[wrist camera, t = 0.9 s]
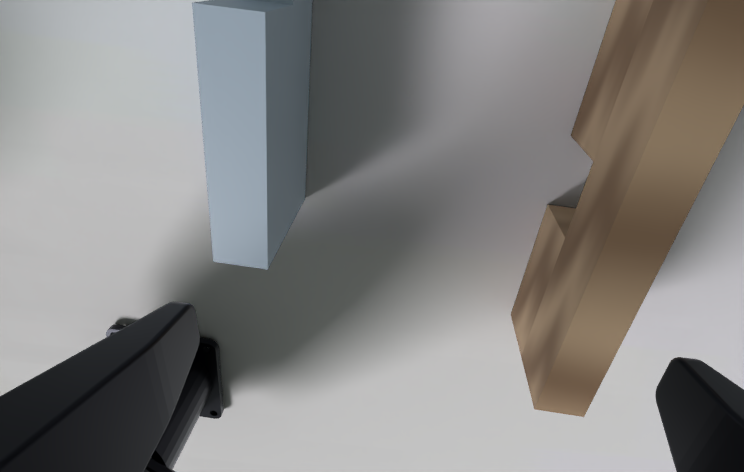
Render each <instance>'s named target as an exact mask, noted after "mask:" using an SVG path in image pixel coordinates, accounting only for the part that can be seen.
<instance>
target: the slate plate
mask: <svg viewBox="0 0 744 472" xmlns="http://www.w3.org/2000/svg"><path fill="white" fill-rule="evenodd" d="M192 7H193V19H194V31H195V43H196V56H197V68H198V80H199V93H200V105H201V117H202V129H203V142H204V154H205V166H206V178H207V191H208V203H209V215H210V227H211V240H212V252H213V262H219V263H226V264H233V265H240V266H246V267H253V268H260V269H267V270H268V268H269V266H270V264H271V262H272V261H273V259H274V257H275V255H276V253H277V251H278V249H279V247H280V245H281V243H282V242H283V240H284V238H285V236H286V234H287V232H288V230H289V228H290V226H291V224H292V223H293V221H294V219H295V217H296V215H297V213H298V211H299V209H300V207H301V205H302V204H303V202H304V200H305V189H306V162H307V135H308V108H309V81H310V53H311V26H312V0H209V1H202V2H195V3H192Z"/></svg>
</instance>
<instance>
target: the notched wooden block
mask: <svg viewBox="0 0 744 472" xmlns="http://www.w3.org/2000/svg"><path fill="white" fill-rule="evenodd" d="M743 105H744V0H616V2H615V5H614V8H613V11H612V14H611V17H610V20H609V22H608V25H607V28H606V31H605V34H604V37H603V40H602V43H601V46H600V49H599V52H598V55H597V58H596V61H595V64H594V67H593V70H592V73H591V76H590V79H589V82H588V85H587V88H586V91H585V94H584V97H583V100H582V103H581V106H580V109H579V112H578V115H577V118H576V121H575V124H574V127H573V130H572V133H571V136H572V138H573V139H574V140H575V141H576V142H577V143H578V144H579V146H580V147H581V148H582V149H583V150H584V151H585V152H586V153H587V155H588V156H589V157H590V158H591V159H592V160H593V164H592V167H591V169H590V172H589V175H588V178H587V180H586V183H585V186H584V188H583V191H582V194H581V196H580V199H579V202H578V204H577V207H576V208H569V207H562V206H555V205H547V208H546V211H545V214H544V217H543V220H542V223H541V226H540V229H539V232H538V235H537V238H536V241H535V244H534V247H533V250H532V253H531V256H530V259H529V262H528V265H527V268H526V271H525V274H524V277H523V280H522V283H521V285H520V288H519V291H518V294H517V297H516V300H515V303H514V306H513V309H512V312H511V317H512V321H513V325H514V329H515V333H516V337H517V341H518V345H519V349H520V353H521V357H522V361H523V365H524V369H525V373H526V377H527V381H528V385H529V389H530V393H531V397H532V401H533V405H534V409H536V410H543V411H549V412H556V413H562V414H569V415H575V416H582V417H584V416H585V414H586V412H587V410H588V408H589V406H590V404H591V402H592V400H593V398H594V396H595V394H596V392H597V390H598V388H599V386H600V384H601V382H602V380H603V379H604V377H605V375H606V373H607V371H608V369H609V367H610V365H611V363H612V361H613V359H614V357H615V355H616V353H617V351H618V349H619V347H620V345H621V343H622V341H623V340H624V338H625V336H626V334H627V332H628V330H629V328H630V326H631V324H632V322H633V320H634V318H635V316H636V314H637V312H638V310H639V308H640V306H641V304H642V302H643V301H644V299H645V297H646V295H647V293H648V291H649V289H650V287H651V285H652V283H653V281H654V279H655V277H656V275H657V273H658V271H659V269H660V267H661V265H662V263H663V261H664V260H665V258H666V256H667V254H668V252H669V250H670V248H671V246H672V244H673V242H674V240H675V238H676V236H677V234H678V232H679V230H680V228H681V226H682V224H683V222H684V221H685V219H686V217H687V215H688V213H689V211H690V209H691V207H692V205H693V203H694V201H695V199H696V197H697V195H698V193H699V191H700V189H701V187H702V185H703V183H704V182H705V180H706V178H707V176H708V174H709V172H710V170H711V168H712V166H713V164H714V162H715V160H716V158H717V156H718V154H719V152H720V150H721V148H722V146H723V144H724V143H725V141H726V139H727V137H728V135H729V133H730V131H731V129H732V127H733V125H734V123H735V121H736V119H737V117H738V115H739V113H740V111H741V109H742V107H743Z"/></svg>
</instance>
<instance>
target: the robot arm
mask: <svg viewBox="0 0 744 472" xmlns="http://www.w3.org/2000/svg"><path fill="white" fill-rule="evenodd" d="M106 336H107V337H106V338H105V339H103V340H101V341H99V342H97V343H96V344H94V345H92V346H90V347H88V348H87V349H85V350H83V351H81V352H79V353H78V354H76V355H74V356H72V357H70V358H69V359H67V360H65V361H63V362H61V363H60V364H58V365H56V366H54V367H52V368H50V369H49V370H47V371H45V372H43V373H41V374H40V375H38V376H36V377H34V378H32V379H31V380H29V381H27V382H25V383H23V384H22V385H20V386H18V387H16V388H14V389H13V390H11V391H9V392H7V393H5V394H3V395H2V396H0V472H175V471H173V470H172V469H173V467H174V465H175V463H176V461H177V459H178V457H179V455H180V453H181V451H182V449H183V447H184V445H185V443H186V441H187V440H188V438H189V436H190V434H191V432H192V430H193V428H194V426H195V424H196V422H197V420H198V418H199V416H202V417H209V418H220V417H221V415H222V413H223V410H224V407H223V395H222V383H221V371H220V359H219V347H218V344H217V343H216V341H214V340H212V339H208V338H201V337H200V335H199V329H198V323H197V317H196V311H195V308H194V306H193V305H192V304H190V303H182V302H170V303H168V304H166V305H164V306H162V307H161V308H159V309H157V310H155V311H153V312H152V313H150V314H148V315H146V316H144V317H143V318H141V319H139V320H137V321H135V322H134V323H132V324H130V325H128V326H123V325H112V326H111V327H110V328H109V329H108V330H107V332H106ZM208 347H209V348H208ZM656 402H657V406H658V409H659V413H660V416H661V420H662V423H663V427H664V430H665V433H666V437H667V440H668V444H669V447H670V451H671V454H672V457H673V461H674V464H675V468H676V471H677V472H744V390H743V389H742V388H740V387H739V386H738V385H736V384H735V383H733V382H732V381H730V380H729V379H727V378H726V377H724V376H723V375H722V374H720V373H719V372H717V371H716V370H714V369H713V368H711V367H710V366H708V365H707V364H706V363H704V362H702V361H700V360H697V359H690V358H681V357H678V358H674V359H673V360H671V362H670V363H669V365H668V367H667V369H666V371H665V373H664V375H663V377H662V378H661V380H660V382H659V384H658V386H657V389H656Z"/></svg>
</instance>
